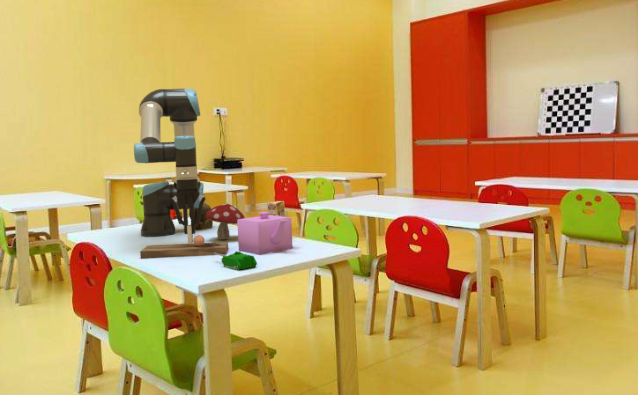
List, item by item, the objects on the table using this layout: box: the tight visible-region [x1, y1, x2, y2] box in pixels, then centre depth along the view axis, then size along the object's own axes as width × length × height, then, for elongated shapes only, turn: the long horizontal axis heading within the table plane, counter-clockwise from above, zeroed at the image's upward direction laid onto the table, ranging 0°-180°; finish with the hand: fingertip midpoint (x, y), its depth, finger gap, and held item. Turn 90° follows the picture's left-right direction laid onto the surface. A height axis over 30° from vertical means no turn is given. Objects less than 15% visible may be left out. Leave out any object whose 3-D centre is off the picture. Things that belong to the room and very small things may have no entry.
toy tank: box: [213, 250, 258, 271], centre depth 188 cm, size 7×19×5 cm, turn 40°
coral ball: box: [193, 234, 206, 246], centre depth 211 cm, size 4×4×4 cm
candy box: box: [267, 200, 286, 217], centre depth 234 cm, size 9×4×15 cm, turn 163°
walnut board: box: [139, 241, 229, 260], centre depth 211 cm, size 12×30×2 cm, turn 95°
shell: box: [188, 202, 214, 230], centre depth 273 cm, size 11×11×12 cm
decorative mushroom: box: [206, 203, 245, 241], centre depth 237 cm, size 16×16×15 cm
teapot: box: [236, 211, 294, 256], centre depth 212 cm, size 15×25×14 cm, turn 42°
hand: (190, 242), depth 211 cm, fingers closed
